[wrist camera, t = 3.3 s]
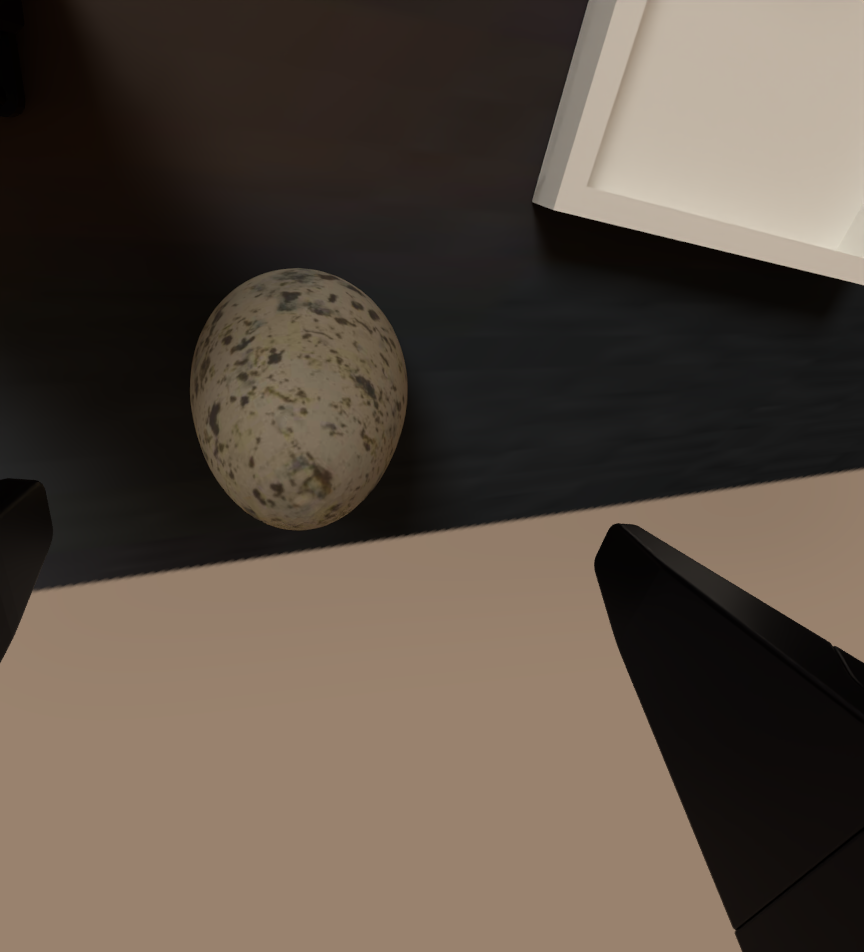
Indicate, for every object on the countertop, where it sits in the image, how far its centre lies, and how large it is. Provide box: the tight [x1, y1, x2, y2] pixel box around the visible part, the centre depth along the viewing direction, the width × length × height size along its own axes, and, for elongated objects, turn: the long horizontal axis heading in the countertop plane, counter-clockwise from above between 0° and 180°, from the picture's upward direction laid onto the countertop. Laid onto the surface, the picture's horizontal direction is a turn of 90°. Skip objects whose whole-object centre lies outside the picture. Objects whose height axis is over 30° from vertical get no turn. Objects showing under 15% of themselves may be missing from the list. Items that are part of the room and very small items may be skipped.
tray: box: [532, 0, 864, 285], centre depth 15 cm, size 13×13×2 cm
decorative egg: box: [190, 268, 407, 530], centre depth 15 cm, size 6×6×10 cm
